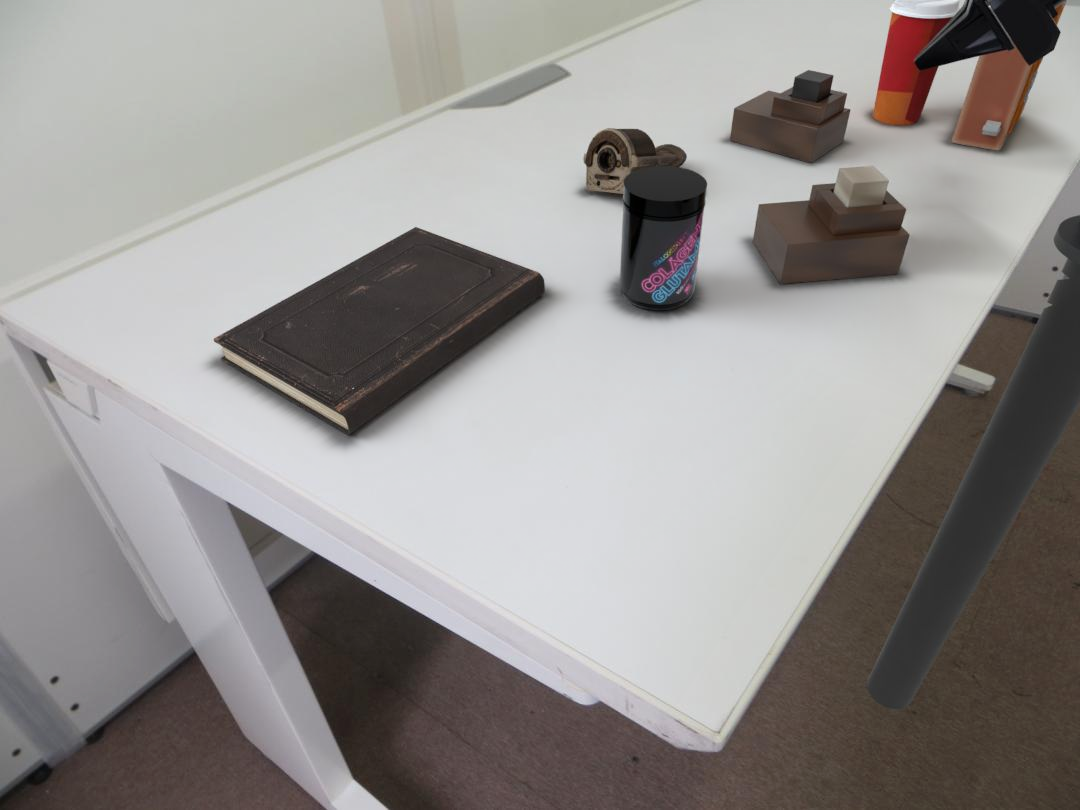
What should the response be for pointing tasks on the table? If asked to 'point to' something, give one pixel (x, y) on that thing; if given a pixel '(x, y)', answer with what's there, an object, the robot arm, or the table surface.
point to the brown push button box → (830, 237)
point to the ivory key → (860, 186)
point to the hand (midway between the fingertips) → (916, 65)
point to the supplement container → (661, 236)
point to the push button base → (791, 124)
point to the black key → (812, 86)
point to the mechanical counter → (624, 157)
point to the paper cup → (909, 59)
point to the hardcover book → (378, 325)
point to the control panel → (996, 97)
